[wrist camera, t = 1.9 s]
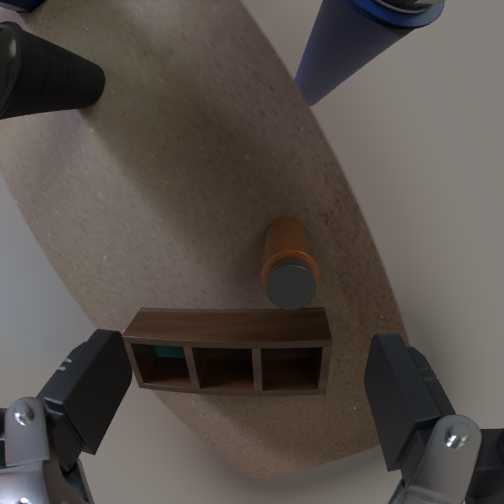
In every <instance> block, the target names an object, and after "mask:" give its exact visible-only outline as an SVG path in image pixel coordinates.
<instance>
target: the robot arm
mask: <svg viewBox="0 0 504 504" xmlns="http://www.w3.org/2000/svg"><path fill="white" fill-rule="evenodd" d="M371 1H372V2H374V3H375V4H377V5H379V6H381V7H383V8H385V9H387V10H389V11H392V12H395V13H399V14H404V15H417V14H421V13H423V12H425V11H427V10H428V9H429V8H431V7H432V6H433V5H434V4H441V3H442V2H444V1H445V0H371ZM131 380H132V367H131V363H130V360H129V357H128V354H127V351H126V348H125V344H124V341H123V338H122V335H121V333H120V332H119V331H113V330H103V329H97V330H96V331H95V332H94V333H93V334H92V336H91V337H90V338H89V339H88V341H87V342H84V343H82V344H81V345H79V346H78V347H76V348H75V349H73V350H72V352H71V353H70V354H69V355H68V357H67V358H66V359H65V361H64V362H63V363H62V364H61V365H60V367H59V370H58V369H57V370H56V372H55V373H54V374H53V376H52V377H51V378H50V379H49V381H48V382H47V383H46V385H45V386H44V387H43V389H42V390H41V391H40V393H39V394H38V395H37V396H36V398H34V397H23V398H20V399H18V400H16V401H14V402H13V403H12V404H11V405H10V406H9V407H8V409H6V408H0V504H95V503H94V501H93V498H92V495H91V492H90V489H89V486H88V483H87V480H86V476H85V473H84V470H83V466H82V463H81V460H80V459H79V455H80V453H81V451H83V452H86V453H89V454H93V455H95V454H96V451H97V449H98V447H99V445H100V443H101V441H102V439H103V437H104V435H105V433H106V431H107V429H108V427H109V425H110V423H111V421H112V419H113V417H114V415H115V413H116V411H117V409H118V407H119V405H120V403H121V401H122V399H123V397H124V395H125V393H126V392H127V390H128V388H129V386H130V384H131ZM364 385H365V391H366V394H367V397H368V401H369V404H370V408H371V411H372V414H373V418H374V421H375V425H376V429H377V432H378V436H379V439H380V443H381V447H382V451H383V454H384V458H385V462H386V466H387V470H388V472H389V471H394V470H398V469H401V473H402V478H401V480H400V482H399V483H398V485H397V487H396V489H395V491H394V493H393V495H392V496H391V498H390V500H389V501H388V503H387V504H463V501H464V500H465V503H466V504H504V429H479V427H478V425H477V424H476V423H475V422H474V421H473V420H471V419H470V418H468V417H465V416H462V415H457V414H456V413H455V411H454V409H453V407H452V405H451V403H450V401H449V399H448V397H447V395H446V394H445V392H444V390H443V388H442V386H441V384H440V383H439V381H438V380H437V379H436V375H435V374H434V372H433V370H431V366H430V365H429V363H428V361H427V360H426V358H425V356H424V355H422V354H421V353H420V352H419V351H417V350H416V349H415V348H414V347H408V348H407V347H406V345H405V344H404V342H403V340H402V338H401V336H400V335H399V334H398V333H388V334H375V335H374V336H373V338H372V342H371V347H370V351H369V356H368V361H367V365H366V369H365V375H364Z"/></svg>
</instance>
